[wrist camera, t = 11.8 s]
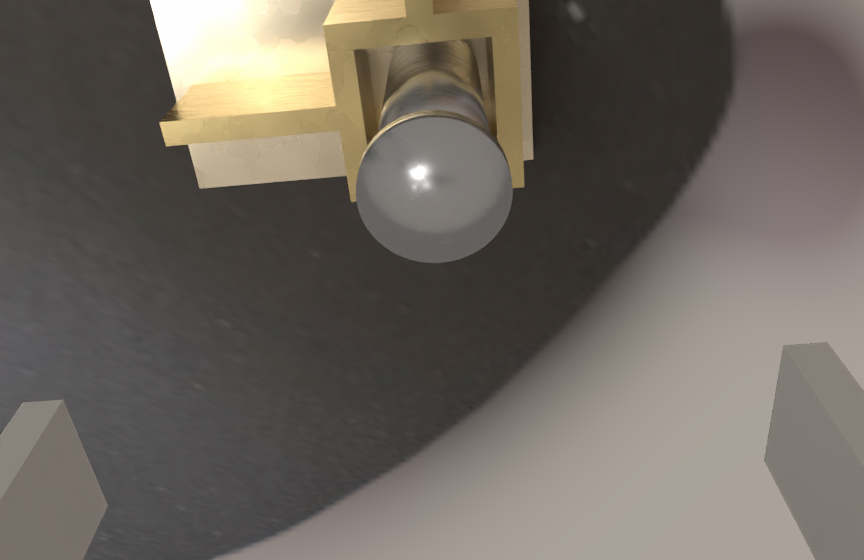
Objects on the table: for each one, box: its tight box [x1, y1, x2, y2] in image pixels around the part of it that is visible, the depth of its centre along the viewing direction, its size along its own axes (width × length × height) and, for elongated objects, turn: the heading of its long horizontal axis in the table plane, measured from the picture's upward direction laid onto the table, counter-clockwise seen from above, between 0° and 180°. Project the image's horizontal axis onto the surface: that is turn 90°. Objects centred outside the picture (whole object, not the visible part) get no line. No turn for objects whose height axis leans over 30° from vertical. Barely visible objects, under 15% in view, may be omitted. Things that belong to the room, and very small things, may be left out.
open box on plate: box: [150, 0, 533, 202], centre depth 32 cm, size 16×16×6 cm
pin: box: [356, 40, 513, 263], centre depth 30 cm, size 5×5×13 cm
